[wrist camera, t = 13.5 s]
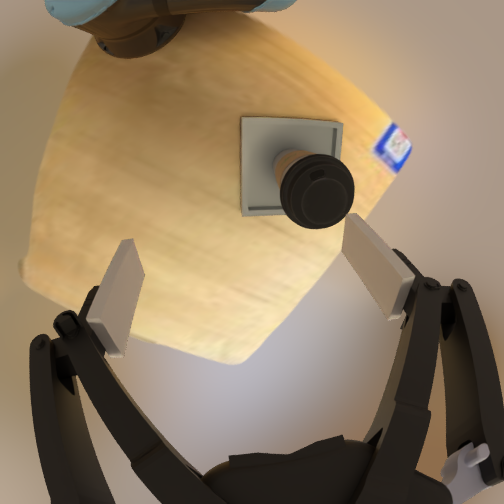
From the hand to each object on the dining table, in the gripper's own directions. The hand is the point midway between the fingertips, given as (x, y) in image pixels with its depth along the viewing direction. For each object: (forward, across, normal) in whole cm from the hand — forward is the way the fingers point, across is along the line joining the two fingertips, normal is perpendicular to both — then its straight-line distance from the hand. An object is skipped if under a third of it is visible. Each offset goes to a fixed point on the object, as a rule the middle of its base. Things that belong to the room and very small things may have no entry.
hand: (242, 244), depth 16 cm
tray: (+29, +10, -4) cm, 31 cm away
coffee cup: (+28, +10, -4) cm, 30 cm away
